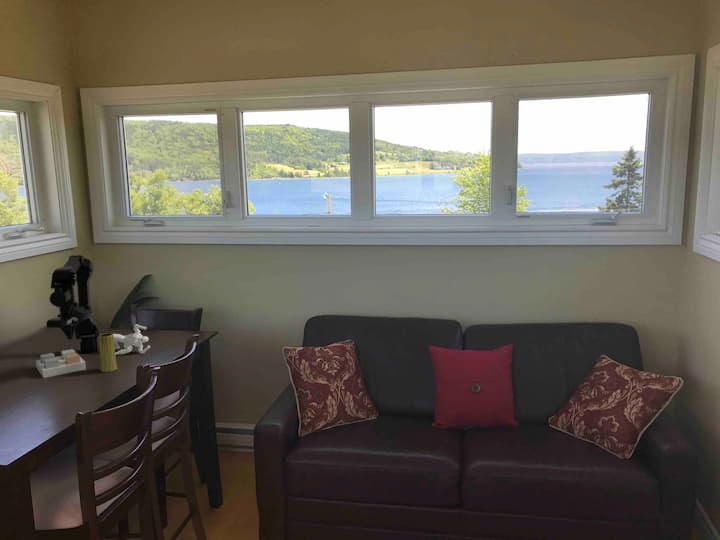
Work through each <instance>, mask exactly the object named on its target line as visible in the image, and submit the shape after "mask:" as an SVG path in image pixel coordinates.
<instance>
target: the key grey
mask: <svg viewBox="0 0 720 540" xmlns="http://www.w3.org/2000/svg"><path fill="white" fill-rule="evenodd" d="M57 357H58V356H55V357H54V358H49V359H44V366H45V368H46V369H47V368H53V367H58V366H59V360H58V359H57Z"/></svg>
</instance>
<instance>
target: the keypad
mask: <svg viewBox="0 0 720 540" xmlns="http://www.w3.org/2000/svg"><path fill="white" fill-rule="evenodd" d="M56 357H57V359H58V360H59V366H58V367H53V368H47V369H46V368H45V366H44V364H42V362H41V359H38V360H35V363H36V364H35V365H36V369H37V371H38V372H39V373H40V374H39V375H41V376H42V378H43V379H44V378H50V377H55V376H60V375H65V374H69V373H70V374H71V373H74V372H79V371H85V370H87V368H86V366H87V365H86V364H87V363H86V361H85V360H84V359H83V358H82V357H81V356H80V362H79V363H73V364H67V363H66V361H65V360H63V359H62V355H61V356H56Z"/></svg>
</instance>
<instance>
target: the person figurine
mask: <svg viewBox="0 0 720 540" xmlns="http://www.w3.org/2000/svg"><path fill="white" fill-rule="evenodd" d="M140 329H142V330H147V326H143V325H140V324H137V323H136V324H134V325H133V331H134V332H132V333H129V334H127V335H123V334H119V333H112V334H113V338H114V347H115V350H118V349H120V348H121V347H120V345H119V344H118V343H123V347H124V349H120V350H118V351H115V356H117V355H125V354H130V352H132V351H133V346H134V347H136V348H137V352H138V353H139V354H140V355H143V354H145V353H146V352H147V351H148V350H149V349H151V346H150V345H147V346H146V348H144V349H143V347H144V345H143V343H147V342H149V337H148V336H145V335H143V334H141V330H140Z"/></svg>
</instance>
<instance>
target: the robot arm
mask: <svg viewBox="0 0 720 540" xmlns="http://www.w3.org/2000/svg"><path fill="white" fill-rule="evenodd" d="M94 269H95V268H94V264H93V262H92V260H90V259H88V258H86V257H84V255H81V254H75V255H70V256H69V257H68V260H67V261H66V262H65V264H64V265H63V266H61V267H57V268H56V269H54V271H53V272H52V274H51V281H50V289H53V290H54V291H53V292H52V293H51V294H50V296H49V298H48V299H49V303H50V304H51V305H53V306H54V307H56V308H58V309H59V313H58V314H57V315H56V316H57V317H53V318H50V319H48V320H46V322H45V323H46V328H51V329H52V328H54V329H55V328H56V329H57V328H58V329H61V330H62V332H63V333H64V335H65V336H66V338H67V339H68V340H69V341H70V340H73V338H74V335H75V339H76V340H79V341H78V348H79V349H78V350H79V352H81V354H89V353H96V352H100V348H99V346H98V339H99V335H101V333H100V328H99V327H98V325H97V324H96V323H97V321H96V319H95V318H94V316H93V315H92V314H93V308H92V305H91V296H90V295H91V294H90V280H92V279H91V278H92V277H93V272H94ZM75 286H77V299H78V301H76V299H75V289H74V287H75ZM98 348H99V349H98Z"/></svg>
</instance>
